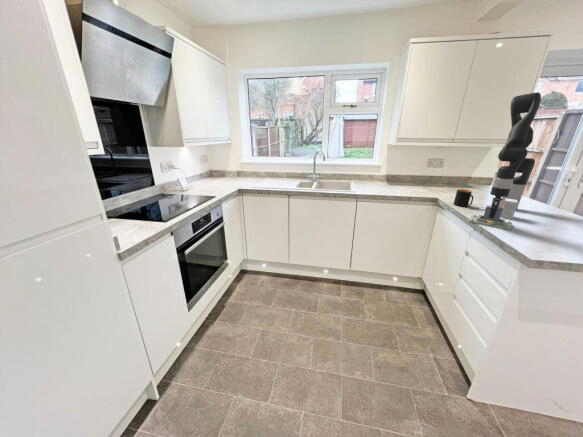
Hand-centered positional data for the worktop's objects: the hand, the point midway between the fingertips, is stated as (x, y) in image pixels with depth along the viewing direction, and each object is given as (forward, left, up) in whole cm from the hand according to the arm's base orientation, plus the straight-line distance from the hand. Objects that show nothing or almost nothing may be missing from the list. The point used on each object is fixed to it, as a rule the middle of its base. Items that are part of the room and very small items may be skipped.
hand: (491, 216), depth 129 cm
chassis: (0, 0, -4) cm, 4 cm away
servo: (0, 0, -1) cm, 1 cm away
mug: (-29, -17, -4) cm, 34 cm away
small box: (-21, +6, -4) cm, 22 cm away
